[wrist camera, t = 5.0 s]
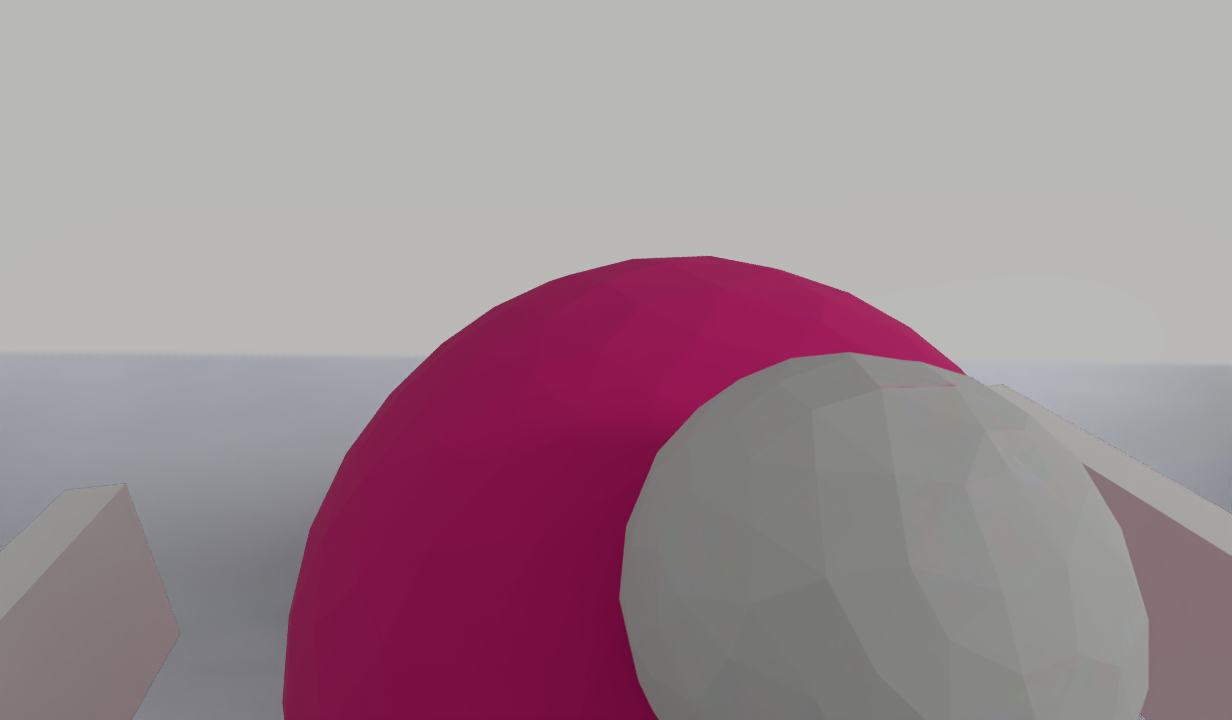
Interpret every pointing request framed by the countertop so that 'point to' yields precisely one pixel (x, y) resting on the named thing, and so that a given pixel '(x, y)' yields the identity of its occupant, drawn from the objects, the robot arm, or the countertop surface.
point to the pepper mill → (709, 524)
